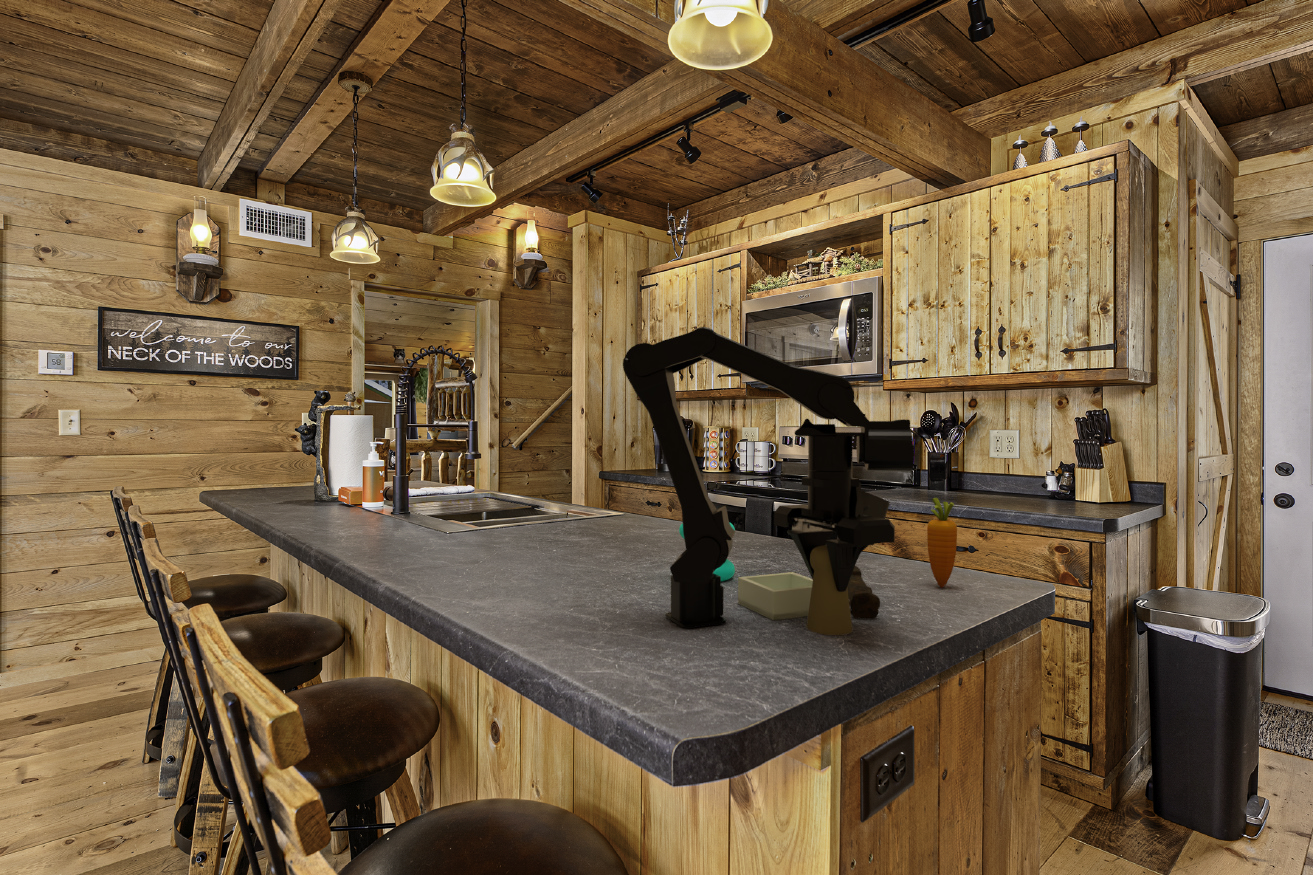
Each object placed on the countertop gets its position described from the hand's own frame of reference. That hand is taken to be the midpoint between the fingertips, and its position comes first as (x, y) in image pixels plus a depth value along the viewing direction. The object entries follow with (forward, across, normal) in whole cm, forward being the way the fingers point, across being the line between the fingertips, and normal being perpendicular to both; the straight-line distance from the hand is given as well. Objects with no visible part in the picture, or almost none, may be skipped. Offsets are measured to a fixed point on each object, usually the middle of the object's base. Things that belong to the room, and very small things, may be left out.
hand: (829, 587), depth 91 cm
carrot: (+6, +12, -32) cm, 35 cm away
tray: (+6, +11, 0) cm, 12 cm away
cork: (+6, 0, 0) cm, 6 cm away
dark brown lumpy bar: (+6, +10, -12) cm, 17 cm away
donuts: (+6, +34, +1) cm, 35 cm away
